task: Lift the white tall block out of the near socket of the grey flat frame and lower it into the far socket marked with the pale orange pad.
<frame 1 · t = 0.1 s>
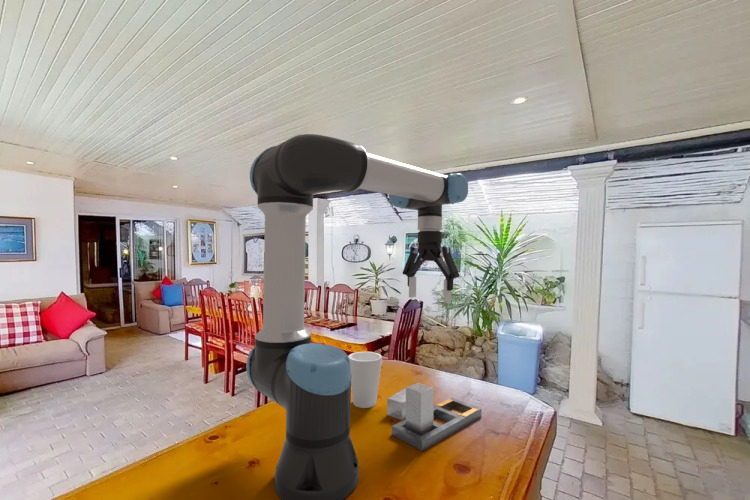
hand: (429, 299, 107), 28 cm above the table, fingers open, 13 cm apart
grey flat frame: (439, 424, 84), on the table
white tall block: (419, 435, 79), resting in grey flat frame
foam cup: (364, 403, 96), on the table
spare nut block: (405, 410, 92), on the table
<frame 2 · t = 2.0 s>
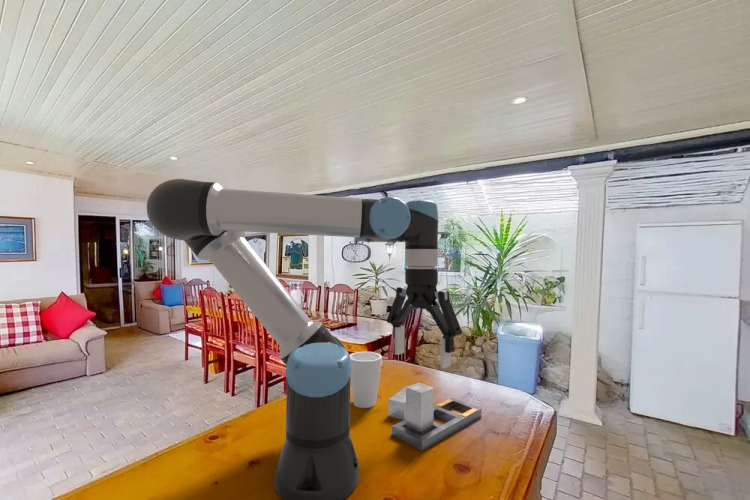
hand: (421, 360, 79), 17 cm above the table, fingers open, 13 cm apart
nothing on the table moved.
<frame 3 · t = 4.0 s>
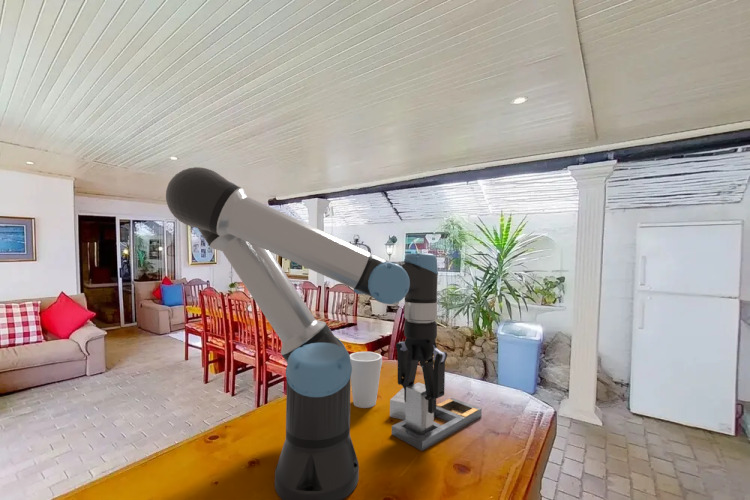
hand: (419, 421, 79), 3 cm above the table, fingers closed on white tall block, 4 cm apart
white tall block: (419, 435, 79), resting in grey flat frame, touching gripper
everything else where it was.
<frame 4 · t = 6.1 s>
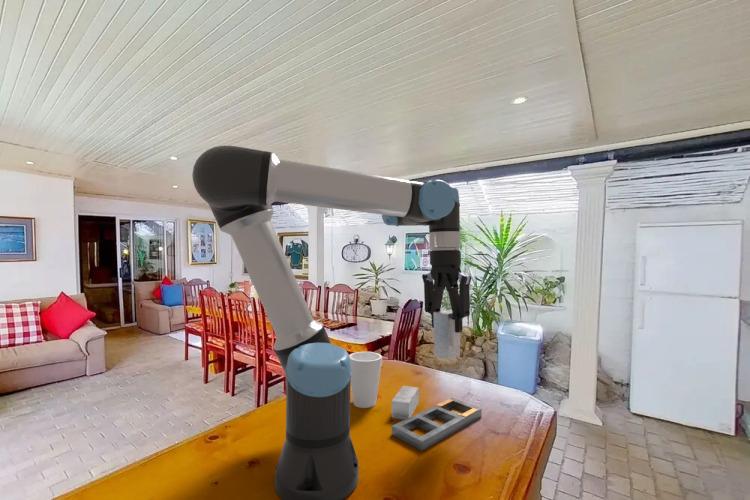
hand: (447, 343, 85), 20 cm above the table, fingers closed on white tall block, 4 cm apart
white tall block: (447, 356, 85), point 17 cm above the table, touching gripper
everything else where it was.
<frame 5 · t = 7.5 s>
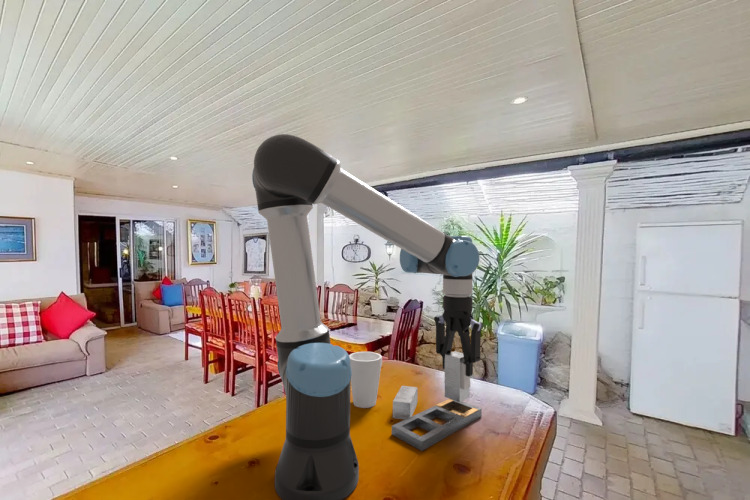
hand: (457, 384, 89), 8 cm above the table, fingers closed on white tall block, 4 cm apart
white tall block: (457, 397, 89), point 5 cm above the table, touching gripper
when the fingers open (4 cm above the table, at t = 8.5 s): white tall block drops 1 cm, resting on grey flat frame.
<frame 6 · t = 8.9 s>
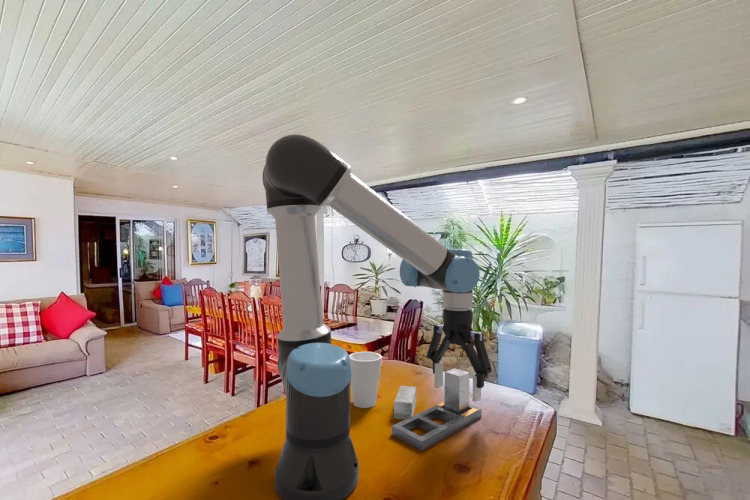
hand: (456, 393, 89), 6 cm above the table, fingers open, 11 cm apart
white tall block: (456, 414, 89), resting on grey flat frame
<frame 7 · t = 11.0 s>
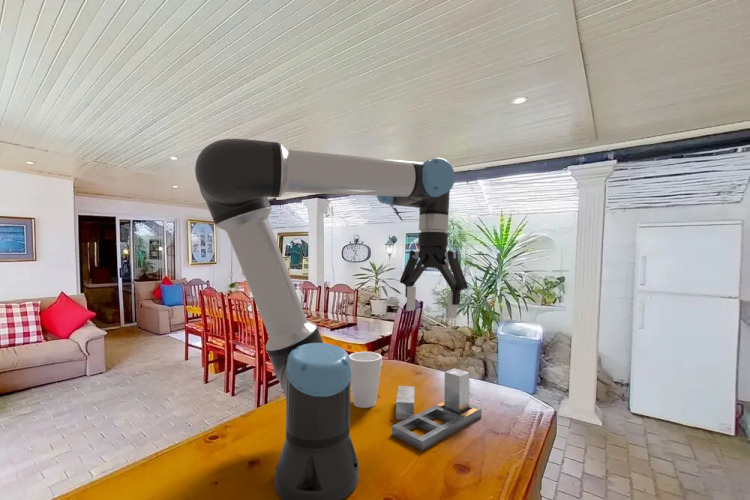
hand: (430, 314, 89), 26 cm above the table, fingers open, 13 cm apart
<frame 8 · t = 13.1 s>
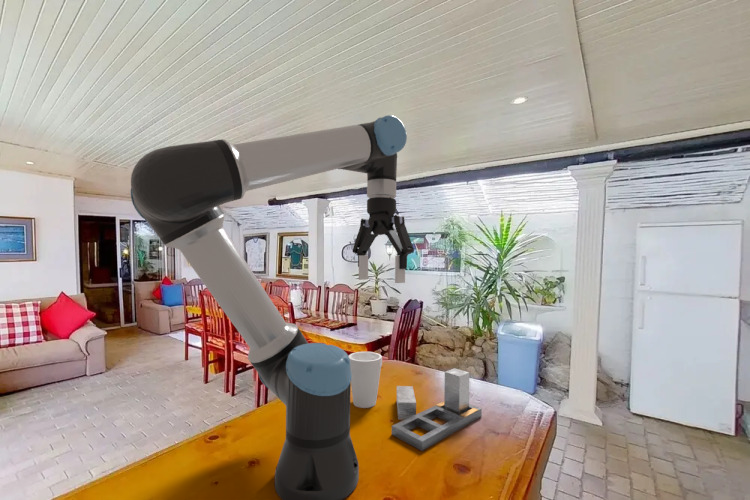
hand: (380, 281, 88), 35 cm above the table, fingers open, 13 cm apart
at the end: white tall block 0.0 cm from the target spot on the grey flat frame, point 0.2 cm above the grey flat frame's base; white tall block tilted 0°; the gripper is holding nothing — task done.
